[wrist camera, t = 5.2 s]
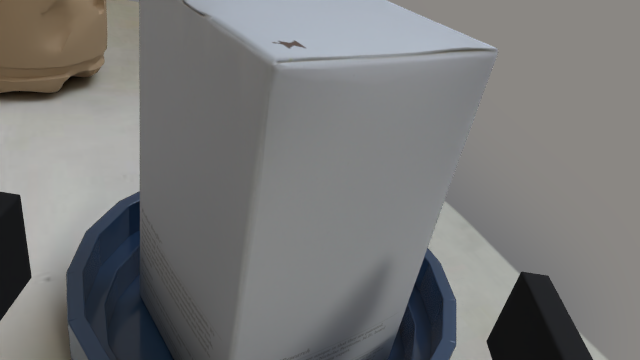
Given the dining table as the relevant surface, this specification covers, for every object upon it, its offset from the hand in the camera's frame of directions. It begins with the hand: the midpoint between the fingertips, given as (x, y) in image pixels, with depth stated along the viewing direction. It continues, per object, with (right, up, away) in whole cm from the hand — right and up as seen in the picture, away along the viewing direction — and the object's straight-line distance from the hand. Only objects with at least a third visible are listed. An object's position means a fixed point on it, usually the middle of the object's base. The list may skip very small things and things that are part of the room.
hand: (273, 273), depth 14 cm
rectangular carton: (-1, -5, +11) cm, 12 cm away
